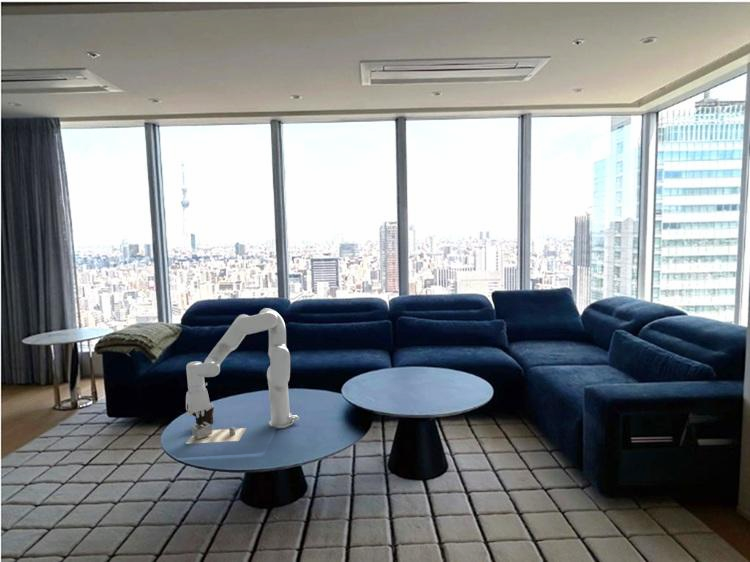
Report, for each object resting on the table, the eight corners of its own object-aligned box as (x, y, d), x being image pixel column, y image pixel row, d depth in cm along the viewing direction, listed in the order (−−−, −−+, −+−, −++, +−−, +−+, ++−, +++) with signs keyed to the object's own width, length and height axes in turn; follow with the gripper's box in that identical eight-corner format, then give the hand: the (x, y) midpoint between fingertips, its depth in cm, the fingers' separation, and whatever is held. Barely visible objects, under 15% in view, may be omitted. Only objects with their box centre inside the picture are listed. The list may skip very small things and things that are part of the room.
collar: (205, 430, 228) (204, 421, 228) (212, 433, 223) (211, 424, 223) (191, 435, 223) (190, 426, 223) (198, 439, 219) (197, 429, 218)
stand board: (247, 430, 231) (245, 417, 230) (238, 443, 217) (237, 429, 216) (197, 433, 231) (195, 420, 230) (185, 446, 217) (184, 432, 216)
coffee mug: (209, 429, 234) (207, 410, 233) (194, 429, 236) (192, 410, 235) (221, 420, 245) (219, 402, 244) (206, 419, 247) (205, 401, 246)
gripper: (208, 381, 229) (211, 417, 231) (177, 390, 218) (181, 427, 220) (215, 385, 223) (218, 421, 225) (184, 393, 213) (187, 431, 215)
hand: (199, 424), depth 223 cm, fingers closed
